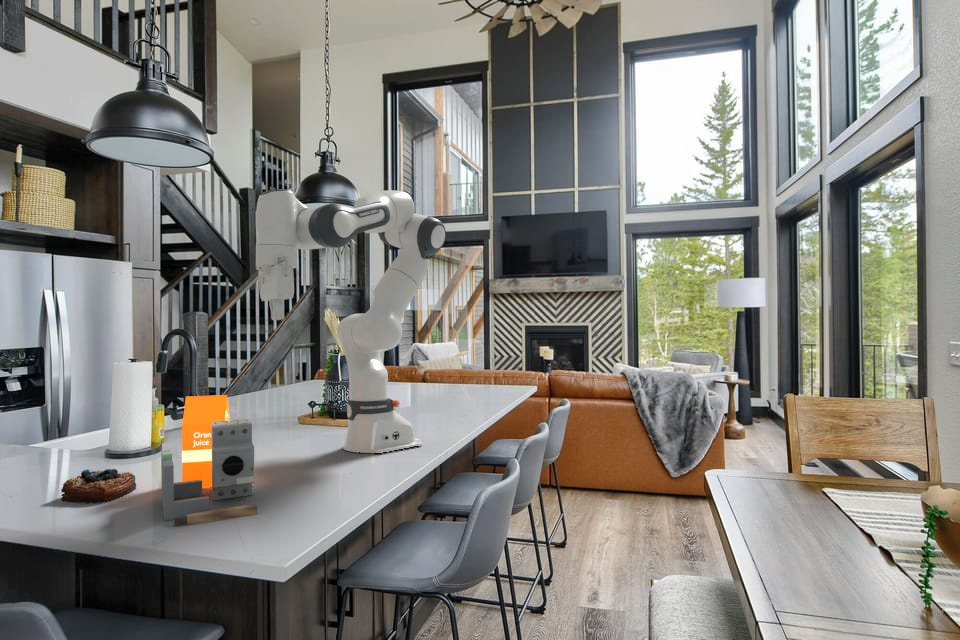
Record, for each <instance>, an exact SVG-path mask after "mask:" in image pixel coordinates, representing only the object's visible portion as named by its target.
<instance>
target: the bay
mask: <svg viewBox="0 0 960 640" xmlns="http://www.w3.org/2000/svg"><path fill="white" fill-rule="evenodd" d="M160 454H161V456H160V457H161V459H160V461H161V465H160V466H161V473H160V474H161V476H160V477H161V483H160V484H161V503H162V504H161V505H162V506H161V507H162V512H163V513H162V514H163V518H164V522H166V521H171V520H174V518H175V517H182V516H187V514H192V513H199V512H205V511H210V496H209V495H206V496H205V495H204V496H203V488H202V479H200V480H192V481H185V482H182V481H179V482H174V481H175V479H174V477H175V476H174V475H175V473H174V470H175V469H174V462H173V452H172V451H171V450H170V449H167V450H161V453H160ZM199 496H200V497H199ZM192 497H193V498H192ZM176 499H177V500H176Z"/></svg>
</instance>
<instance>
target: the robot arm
mask: <svg viewBox="0 0 960 640" xmlns="http://www.w3.org/2000/svg"><path fill="white" fill-rule="evenodd" d="M415 207H416V206H415V203H414V201H413V198H412V197H411V195H409V194H408V193H407V192H405V191H404V190H403V191H402V190H393V189H389V190H387V189H386V190H379V191H373V192H371V193H367V194H365V195H363V196H361V197H359V198H357V199H356V201H355V203H354V205H353V207H349V206H345V205H342V204H339V203H328V204H324V205H322V206H317V207H311V208H310V207H308V206H306V205H305V204H304V203H302V202H301V201H300V200H299V199H298V198H297V197H296V195H295V193H294V192H293V191H292V190H289V189H284V188H283V189H279V188H277V189H271V190H270V189H269V190H266V191H263V192H262V193H260V194H259V196H258V198H257V202H256V210H255V212H256V213H255V229H256V232H257V238H256V239H257V240H256V243H255V269H256V270H257V271H258V273H257V274H258V275H257V276H258V289H259V296H260V299H261V302H269V308H270V319H271V320H272V321H280V320H282V319H283V309H284V301H285V300H290V299H293V298H294V294H295V279H294V278H295V277H294V269H296V268H298V267H297V263H298V262H297V251H298V250H303V251H308V250H318V249H319V250H320V249H326V248H336V249H337V248H338V249H339V248H341V247H345V246H346V245H348V244H349V243H350V241H352V240H353V238H355V237H356V236H357V235H358V234H361V233H363V232H364V234H378V237H379V239H380V241H381V242H382V243H384V244H385V245H388V246H390V247H395V248H398V249H399V250H398V255H397V257H395V259H394V260H393V261H392V262H391V264H389V267H387V269H386V270H385V272H384V273H383V275H382V277H381V278H380V279H379V281H378V283H376V286H375V287H374V289H373V292H372V293H373V299H372V303H371V305H370V308H369V309H368V310H367V311H366V312H365V313H353V314H350V315H348V316H346V317H343V318H342V319H341V320H340V322H339V323H338V325H337V329H336V335H337V339H338V341H339V342H340V344H341V345H342V348H343V352H344V356H345V362H346V364H347V371H348V386H349V387H348V390H349V391H348V393H349V394H348V399H347V406H346V408H347V409H346V410H347V411H346V412H347V413H346V415H347V419H348V422H347V423H348V424H347V432H346V437H345V442H344V445H343V449H344V450H345V451H346V452H347V451H348V452H351V453H359V452H360V453H362V454H363V453H364V454H374V453H382V454H384V453H383V452H387V453H390V452H389V451H392V452H394V451H393V450H398V449H403V448H408V447H413V446H418V445H421V444H422V445H423V441H422V440H421V439H419V438H417V437H415V433H414V427H413V425H412V423H411V422H410V421H409V420H407V419H406V418H404V417H403V416H402V415H401V414H399V413H398V412H397V411H395V408H399V406H400V404H401V402H400V401H399V400H398V399H391V398H389V378H388V376H389V373H388V370H387V368H386V367H385V364H384V362H383V360H382V358H381V353H382V352H386V351H390V350H393V349H395V347H397V346H398V345H399V344H400V343H401V340H402V338H403V328H402V327H403V326H402V321H403V318H404V314H405V313H406V310H407V308H408V306H409V305H410V303H411V302H412V300H413V298H414V297H415V295H416V293H417V292H418V290H419V289H420V287H421V285H422V283H423V282H424V280H425V277H426V275H427V272H428V270H429V267H430V260H431V259H433V257H434V256H436V254H437V253H438V252H439V251H440V250H441V248H443V246H444V244H445V242H446V237H447V231H446V226H445V225H444V223H443V222H442V221H441V220H439V219H438V218H435V217H433V216H427V215H423V214H419V213H415ZM429 259H430V260H429ZM403 450H404V449H403ZM398 451H399V450H398ZM360 453H359V454H360Z"/></svg>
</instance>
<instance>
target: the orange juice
mask: <svg viewBox="0 0 960 640" xmlns="http://www.w3.org/2000/svg"><path fill="white" fill-rule="evenodd" d="M228 399H229V398H228V395H227V394H222V395H220V394H215V395H195V396H189V395H188V396H185V401H184V402H185V403H184V410H183V415H182V423H181V477H182V478H181V482H185V481H192V480H200V479H202V489H211V488H210V487H212V437H211V429H212V423H211V422H215V421H231V420H230V417H231V416H230V409H229V408H230V407H229V401H228Z"/></svg>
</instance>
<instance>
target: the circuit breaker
mask: <svg viewBox="0 0 960 640" xmlns="http://www.w3.org/2000/svg"><path fill="white" fill-rule="evenodd" d="M211 423H212V429H211V437H212V488H211V493H212V501H219V500H226V499H234V497H235V498H241V496H242V497H248V495H250V496H252V495H253V484H255V445H254V443H253V424H252V422H251V421H250V419H249V418H243V419H242V418H241V419H232V420H230V421H215V422H211Z"/></svg>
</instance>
